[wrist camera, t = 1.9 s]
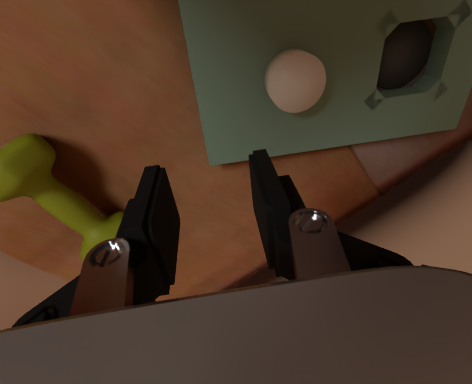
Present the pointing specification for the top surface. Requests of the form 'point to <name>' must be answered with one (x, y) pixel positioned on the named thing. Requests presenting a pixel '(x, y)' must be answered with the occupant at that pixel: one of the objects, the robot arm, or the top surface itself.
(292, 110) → the pink rounded pebble
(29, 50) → the top surface
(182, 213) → the top surface
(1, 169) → the dumbbell
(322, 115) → the board
